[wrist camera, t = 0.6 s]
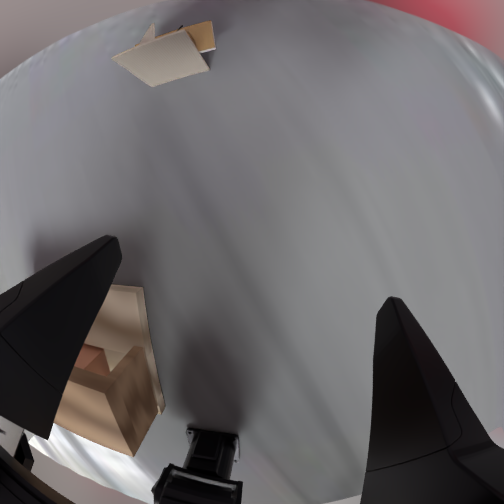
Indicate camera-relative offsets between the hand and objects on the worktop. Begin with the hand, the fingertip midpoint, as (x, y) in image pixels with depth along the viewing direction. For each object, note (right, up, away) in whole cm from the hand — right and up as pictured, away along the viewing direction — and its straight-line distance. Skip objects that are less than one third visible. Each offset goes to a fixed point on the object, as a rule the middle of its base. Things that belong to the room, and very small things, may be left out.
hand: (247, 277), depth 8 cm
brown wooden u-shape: (-19, -12, +17) cm, 28 cm away
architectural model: (-6, +17, +12) cm, 22 cm away
